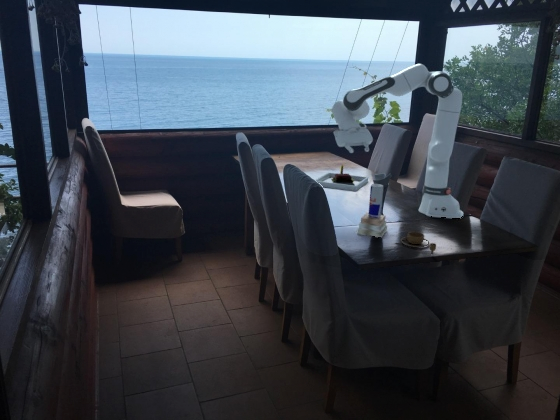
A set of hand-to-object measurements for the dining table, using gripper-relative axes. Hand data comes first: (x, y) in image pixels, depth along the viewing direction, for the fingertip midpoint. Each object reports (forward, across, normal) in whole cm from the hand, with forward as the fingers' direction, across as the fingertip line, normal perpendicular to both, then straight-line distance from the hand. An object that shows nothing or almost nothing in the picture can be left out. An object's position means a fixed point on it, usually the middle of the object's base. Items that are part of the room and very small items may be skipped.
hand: (359, 151), depth 241 cm
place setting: (+57, -4, -10) cm, 58 cm away
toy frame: (-18, +32, +64) cm, 73 cm away
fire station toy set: (-15, +31, +61) cm, 70 cm away
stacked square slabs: (+41, -10, +5) cm, 42 cm away
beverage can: (+36, -9, 0) cm, 37 cm away
